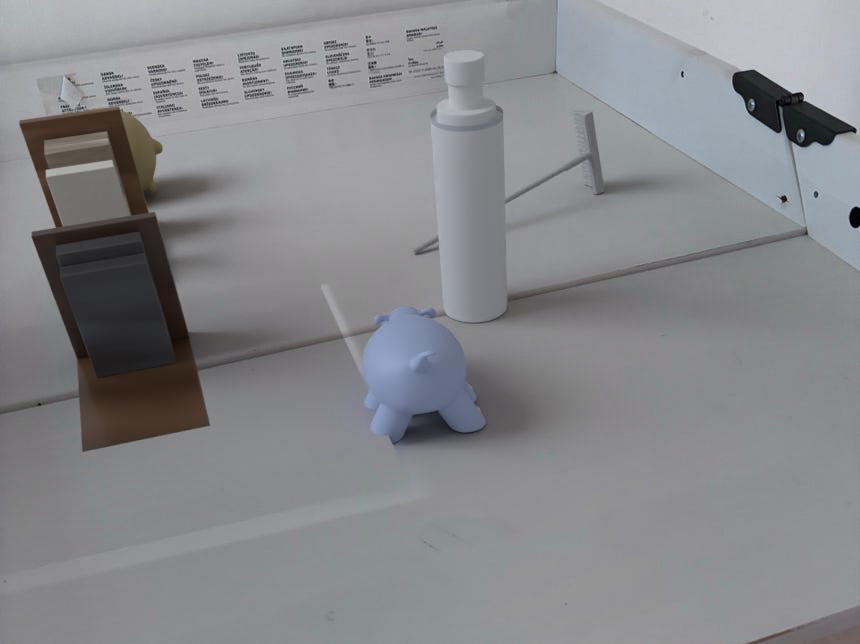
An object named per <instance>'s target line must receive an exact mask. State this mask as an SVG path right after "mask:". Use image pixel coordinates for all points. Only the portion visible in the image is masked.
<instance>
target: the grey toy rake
mask: <svg viewBox="0 0 860 644" xmlns="http://www.w3.org/2000/svg"><path fill="white" fill-rule="evenodd" d="M571 111H572V112H573V113H572V116H573V121H575V122H573V125H574V129H575V130H577V131H575V134H578V135H576V136H575V137H576V139H577V140H576V142H577V143H578V144H577V147H578V151H579V152H580V153H578V155H577V156H575V157H574V158H572V159H570V160H568V161H566V162H564V163H563V165H562V166H560V167H558V168H556V169H554V170H552V171H550V172H549V173H547V174H546V175H543V176H541V177H540V178H538V179H536V180H535V181H533V182H531V183H529V184H528V185H526V186H523V187H522V188H520V189H519V190H516V191H515V192H513V193H511V194H509V195H507V196H505V205H507V204H508V203H510V202H512V201H514V200H515V199H517V198H519V197H521V196H523V195H524V194H526V193H528V192H530V191H532V190H534V189H535V188H537V187H539V186H541V185H542V184H544V183H546V182H548V181H549V180H551V179H553V178H555V177H557V176H559V175H560V174H563V173H564V172H568V171H570V170H571V169H573V168H574V167H577V166H578V165H580V164H581V166H580V168H581V169H582V172H581V173H583V174H582V177H584V178H583V185H584V186H588V187H591V189H592V194H595V195H599V194H602V193H604V192H605V190H606V189H605V184H604V183H605V182H604V176H603V170H602V166H601V164H602V163H601V158H600V157H601V156H600V151H599V145H598V137H597V132H596V126H595V119H594V112H593V111H592V110H589V109H581V108H580V109H579V108H575V107H574V108H572V109H571ZM437 242H438V243H439V237H438V234H437V235H435V236H433V237H432V238H430V239H428V240H427V241H424V242H423V243H421V244H419V245H417V246H415V247H414V248H412V253H413V255H416V254H418V253H420V252H422V251H423V250H425V249H427V248H429V247H430V246H433V245H435V244H436V243H437Z"/></svg>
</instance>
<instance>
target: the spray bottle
mask: <svg viewBox="0 0 860 644" xmlns="http://www.w3.org/2000/svg"><path fill="white" fill-rule="evenodd" d="M443 71H444V81H445V84H447V86H448V87H447V91H448V98H444V99H442V100H441V101H439V102H438V104H436V108H434V109H433V110H432V111H431V112H430V114H429V118H430V134H431V148H432V149H431V150H432V167H433V178H434V193H435V194H434V195H435V207H436V222H437V223H436V224H437V235H438V237H439V241H438V249H439V263H440V278H441V291H442V305H443V311H444V313H445V314H446V315H447V316H448V317H449V318H450V319H452V320H455V321H458V322H461V323H467V324H468V323H469V324H477V323H478V324H479V323H485V322H489V321H493V320H495V319H498V318H499V317H501V316H502V315H503V314H504V313H505V312H506V311H507V309H508V279H507V278H508V271H507V264H508V263H507V222H506V218H507V217H506V204H505V198H506V175H505V174H506V173H505V171H506V170H505V138H504V137H505V133H504V110H503V108H502V107H500V106H499V105H497V103H496V101H495V100H493V99H492V98H490V97H488V96H484V93H483V89H484V88H483V82H485V81H486V74H485V73H486V67H485V54H484V53H483V52H482V51H479V50H474V49H460V50H454V51H450V52H448V53H446V54H444V56H443Z"/></svg>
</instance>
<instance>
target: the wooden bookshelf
mask: <svg viewBox="0 0 860 644" xmlns="http://www.w3.org/2000/svg"><path fill="white" fill-rule="evenodd" d="M120 110H121V107H120V106H111V107H107V108H104V109H97V110H92V109H90V110H89V109H88V110H83V111H76V112H70V113H62V114H55V115H48V116H41V117H33V118H26V119H19V121H18V124H19V127H20V131H21V133H22V136H23V138H24V142H25V144H26V148H27V150H28V153H29V156H30V159H31V162H32V164H33V167H34V170H35V173H36V177H37V179H38V181H39V184H40V187H41V190H42V193H43V196H44V199H45V201H46V204H47V207H48V209H49V213H50V216H51V219H52V221H53V224H54V228H58V227H63V225H62V222H61V219H60V216H59V214H58V211H57V208H56V205H55V202H54V199H53V196H52V193H51V190H50V188H49V185H48V182H47V179H46V170H48V169H55V168H62V167H68V166H75V165H81V164H88V163H95V162H101V161H108V160H113V163H114V166H115V169H116V173H117V176H118V180H119V183H120V186H121V190H122V193H123V196H124V200H125V203H126V207H127V210H128V213H129V216H132V215H138V214H144V213H150V211H149V208H148V204H147V201H146V197H145V192H143V190H142V186H141V183H140V179H139V175H138V172H137V168H136V165H135V161H134V158H133V154H132V151H131V147H130V143H129V140H128V136H127V133H126V129H125V126H124V122H123V119H122V115H121V111H122V110H121V111H120Z"/></svg>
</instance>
